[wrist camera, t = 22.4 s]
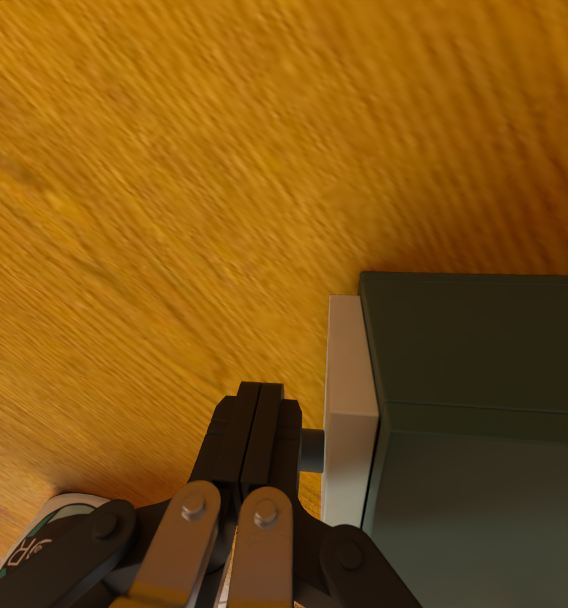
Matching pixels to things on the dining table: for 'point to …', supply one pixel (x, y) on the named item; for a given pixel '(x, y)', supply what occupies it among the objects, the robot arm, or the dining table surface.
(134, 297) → the dining table surface
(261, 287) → the dining table surface
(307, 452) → the drawer
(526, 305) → the cabinet
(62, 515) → the mug
